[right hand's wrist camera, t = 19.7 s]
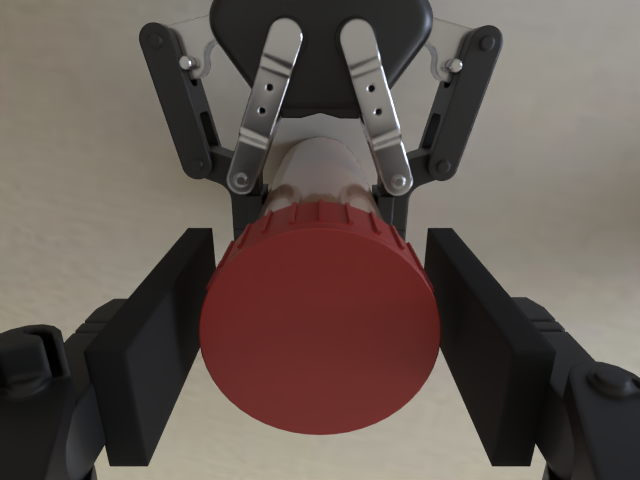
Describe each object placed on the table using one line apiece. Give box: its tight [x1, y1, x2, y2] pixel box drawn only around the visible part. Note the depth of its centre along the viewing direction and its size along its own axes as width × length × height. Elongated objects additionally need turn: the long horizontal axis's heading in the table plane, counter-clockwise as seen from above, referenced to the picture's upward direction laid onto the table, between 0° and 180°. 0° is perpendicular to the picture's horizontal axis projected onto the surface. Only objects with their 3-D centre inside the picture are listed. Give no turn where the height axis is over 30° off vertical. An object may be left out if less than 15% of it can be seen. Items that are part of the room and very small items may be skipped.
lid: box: [199, 199, 441, 435], centre depth 11 cm, size 6×6×2 cm
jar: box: [256, 137, 384, 222], centre depth 18 cm, size 5×5×16 cm
